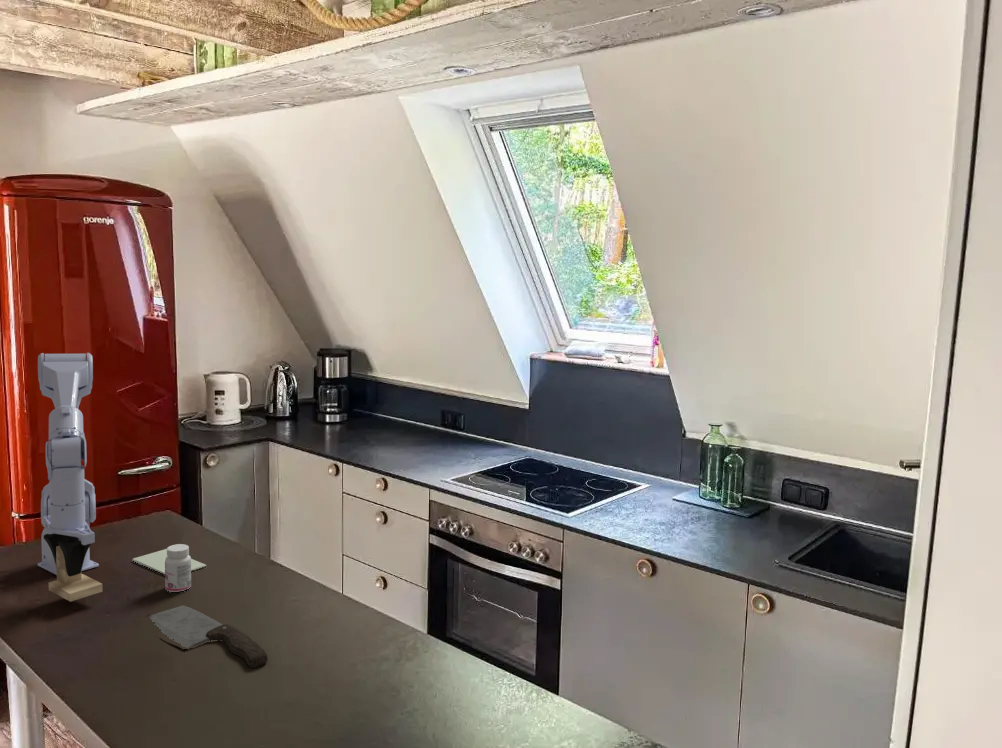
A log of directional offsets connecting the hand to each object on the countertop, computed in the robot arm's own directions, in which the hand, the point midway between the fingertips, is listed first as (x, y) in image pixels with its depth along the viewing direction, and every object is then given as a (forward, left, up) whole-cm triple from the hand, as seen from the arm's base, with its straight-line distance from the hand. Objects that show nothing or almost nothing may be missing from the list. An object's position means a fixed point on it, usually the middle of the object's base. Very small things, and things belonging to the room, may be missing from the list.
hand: (69, 571), depth 152 cm
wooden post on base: (+2, 0, -3) cm, 4 cm away
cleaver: (+32, +6, -6) cm, 33 cm away
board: (-2, +22, -5) cm, 23 cm away
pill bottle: (+10, +16, -6) cm, 20 cm away
